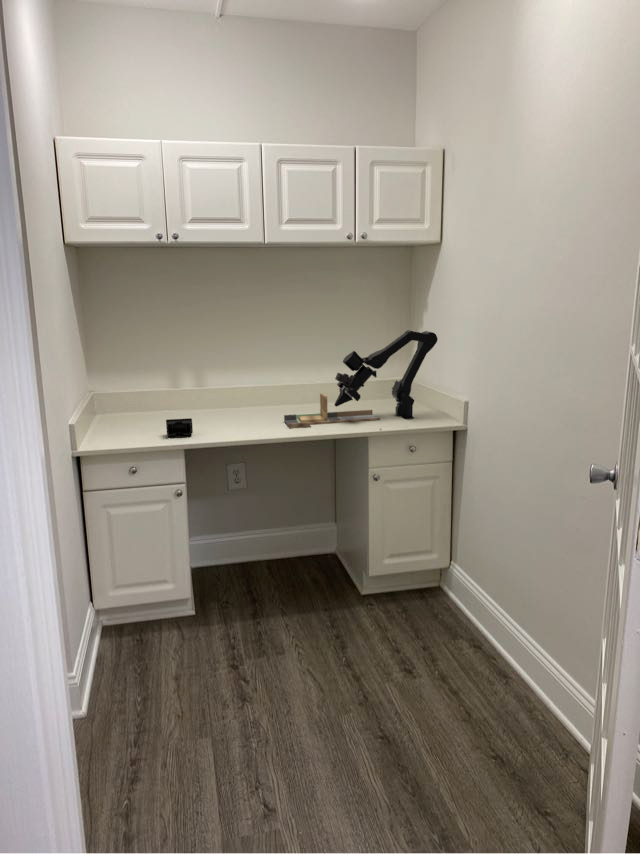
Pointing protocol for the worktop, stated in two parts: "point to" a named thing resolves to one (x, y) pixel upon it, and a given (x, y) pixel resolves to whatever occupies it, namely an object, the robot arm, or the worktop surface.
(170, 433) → the end cap
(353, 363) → the robot arm
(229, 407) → the worktop surface
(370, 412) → the trap track
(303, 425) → the walnut front lip
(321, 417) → the oak bookend
